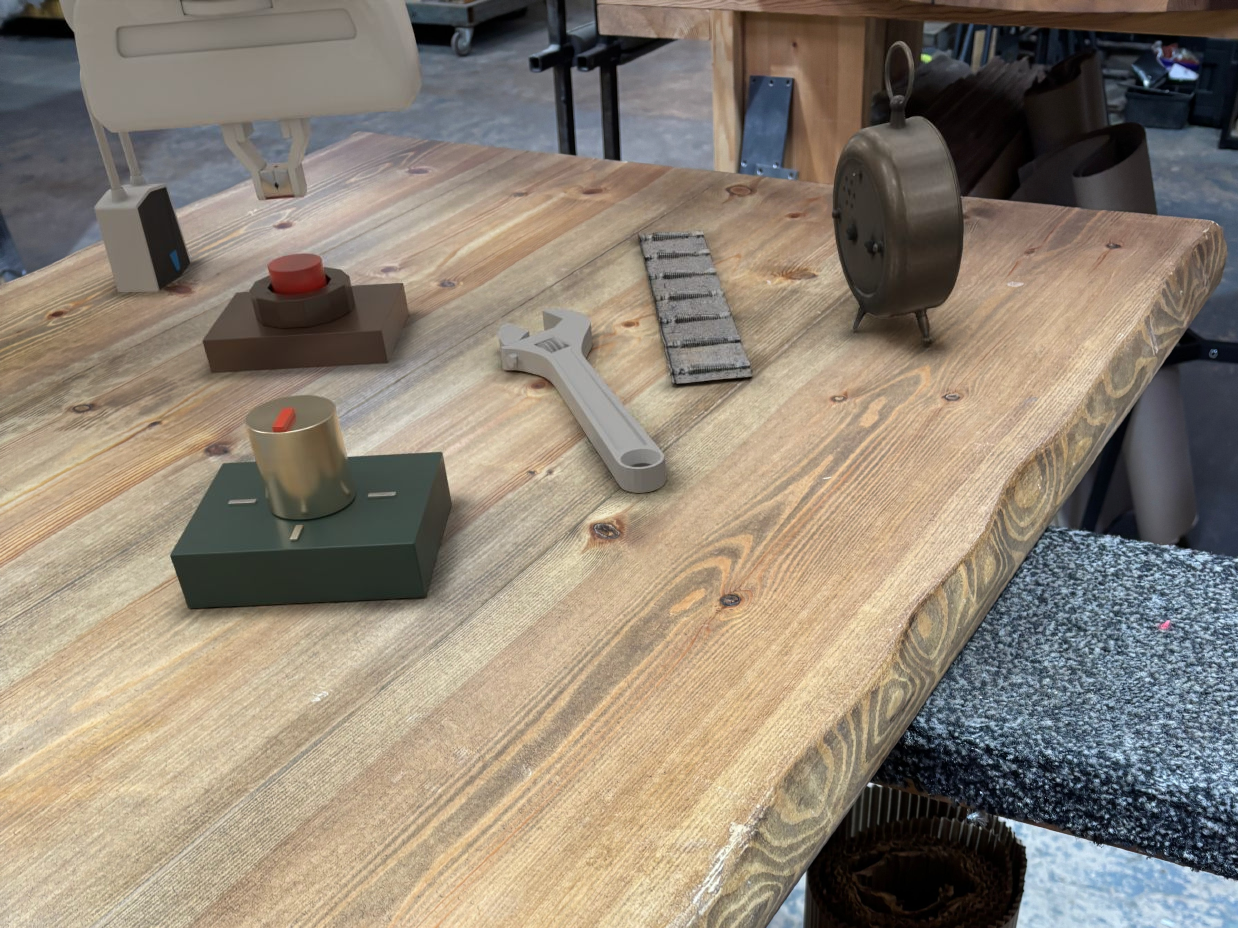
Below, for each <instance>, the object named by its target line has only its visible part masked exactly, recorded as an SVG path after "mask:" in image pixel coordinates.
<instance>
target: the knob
mask: <svg viewBox="0 0 1238 928" xmlns="http://www.w3.org/2000/svg"><path fill="white" fill-rule="evenodd" d="M244 425H245V428H246V433H247V436H248V441H249V443H250V446H251V451H252V454H253V457H254V460H255V461H254V462H256V464H257V468H258V471H259V475H260V478H261V482H262V486H263V489H264V493H265V496H266V500H267V503H268V507H269V509H270V511H271V512H272V513H273V514H275V515H276V516H279V517H281V518H285V519H293V520H305V519H314V518H319V517H323V516H327V515H330V514H333V513H335V512H337V511H339V510H341V509H343V508H345V507H346V506H347V505H349V504H350V503H351V502H352V501H353V499H354V497H355V487H354V483H353V479H352V475H351V470H350V466H349V462H348V457H349V456H348V454H347V453H348V452H347V450H346V446H345V445H346V444H345V441H344V440H345V439H344V436H343V432H342V428H341V424H340V420H339V415H338V410H337V407H336V405H335V403H334V402H333V401H332V400H331V399H329V398H327V397H324V396H319V395H312V394H301V395H290V396H284V397H279V398H276V399H272V400H269V401H266V402H263V403H262V404H259V405H258V406H255V407H254V408H253V409H251V410H250V411H249V412H248V413H247V414H246V415H245V417H244Z"/></svg>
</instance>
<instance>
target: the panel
mask: <svg viewBox="0 0 1238 928" xmlns="http://www.w3.org/2000/svg"><path fill="white" fill-rule="evenodd" d="M347 457H348V462H349V466H350V470H351V475H352V479H353V483H354V487H355V497H354V499H353V501H352V502H351V503H350V504H349V505H347V506H346V507H345V508H343V509H341V510H339V511H337V512H335V513H333V514H330V515H327V516H323V517H319V518H314V519H305V520H293V519H285V518H281V517H279V516H276V515H275V514H273V513H272V512H271V511H270V509H269V507H268V503H267V500H266V496H265V493H264V489H263V486H262V482H261V478H260V475H259V471H258V468H257V464H256V461H240V462H239V461H238V462H237V461H236V462H223V463H222V464H221V466H220V467H219V469H218V471H217V472H216V474H215V476H214V478H213V479H212V481H211V483H210V484H209V487H208V488H207V490H206V492H205V493H204V495H203V496H202V499H201V500H200V502H199V503H198V505H197V507H196V509H195V511H194V512H193V514H192V515H191V518H190V519H189V521H188V523H187V525H186V526H185V528H184V530H183V531H182V533H181V535H180V536H179V538H178V540H177V542H176V544H175V545H174V547H173V549H172V550H171V552H170V554H169V557H170V560H171V563H172V566H173V569H174V571H175V574H176V577H177V581H178V584H179V586H180V588H181V592H182V594H183V598H184V600H185V603H186V606H187V608H188V609H204V608H225V607H227V608H228V607H246V606H270V605H271V606H272V605H286V604H287V605H288V604H289V605H291V604H311V603H313V604H314V603H331V602H332V603H333V602H352V601H353V602H355V601H374V600H375V601H376V600H377V601H378V600H398V599H399V600H400V599H419V598H426V596H427V592H428V589H429V584H430V581H431V578H432V574H433V571H434V567H435V565H436V559H437V557H438V553H439V549H440V545H441V542H442V539H443V535H444V531H445V528H446V524H447V520H448V518H449V513H450V511H451V506H452V502H453V501H452V496H451V492H450V486H449V480H448V474H447V469H446V463H445V459H444V453H443V451H429V452H410V453H409V452H408V453H391V454H390V453H389V454H374V455H373V454H371V455H355V456H354V455H353V456H352V455H351V456H347Z"/></svg>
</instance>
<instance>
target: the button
mask: <svg viewBox="0 0 1238 928" xmlns="http://www.w3.org/2000/svg"><path fill="white" fill-rule="evenodd" d="M266 267H267V271H268V276H270V280H271V284H272V288H273V292H274V293H277V294H283V295H289V294H301V293H306V292H310V291H314V290H318V289H320V288H322V287H324V286H326V285H327V280H326V276H325V271H324V267H325V266H324V263H323V259H322V257H321V256H320V255H318V254H314V253H307V252H305V253H293V254H292V253H291V254H286V255H282V256H280V257H277V258H274V259H273V260H271V261H269V262H268V264H267V266H266Z"/></svg>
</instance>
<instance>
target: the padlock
mask: <svg viewBox="0 0 1238 928" xmlns="http://www.w3.org/2000/svg"><path fill="white" fill-rule="evenodd" d="M79 69H80V70H79V81H80V88H81V91H82V95H83V98H84V102H85V106H86V109H87V112H88V117H89V119H90V122H91V125H92V129H93V132H94V135H95V139H96V143H97V145H98V149H99V151H100V154H101V158H102V161H103V165H104V167H105V172H106V174H107V178H108V181H109V184H110V187H111V188H109V189H108V190H106V192H105V193H104V194H103V195H102V196H101V198H100V199H99V200H98V201H97V203H96V204H95V205H94V208H93V209H94V213H95V216H96V220H97V223H98V226H99V227H98V228H99V231H100V234H101V238H102V241H103V244H104V247H105V252H106V255H107V258H108V262H109V265H110V269H111V273H112V276H113V281H114V284H115V286H116V290H117V293H145V292H146V293H149V292H156V293H157V292H159V291H161V290H162V289H164V288H165V287H167V286H168V285H170V284H171V283H173V282H175V281H176V280H177V279H179V278H180V277H181V276H182V275H183V274H184V273H185V271H186V270H187V268H188V267H189V266H190V264H191V263H192V259H191V256H190V252H189V249H188V246H187V243H186V240H185V236H184V234H183V231H182V228H181V225H180V222H179V219H178V215H177V213H176V209H175V206H174V203H173V200H172V197H171V193H170V191H169V188H168V185H167V183H147V181H146V179H145V177H144V175H143V173H142V172H141V170H140V168H139V164H138V161H137V157H136V154H135V151H134V147H133V144H132V141H131V138H130V134H129V132H120V133H118V137H119V141H120V143H121V147H122V149H123V153H124V156H125V159H126V163H127V165H128V169H129V173H130V175H129V181H130V184H122V185H121V181H120V177H119V174H118V172H117V168H116V165H115V162H114V158H113V155H112V152H111V148H110V145H109V143H108V139H107V136H106V132H105V129H104V128H105V127H104V126H103V125H102V124H101V123H100V122H99V121H98V120H97V119H96V118H95V117H94V115H93V113H92V111H91V108H90V104H89V101H88V97H87V93H86V89H85V85H84V81H83V77H82V73H81V68H79Z"/></svg>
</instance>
